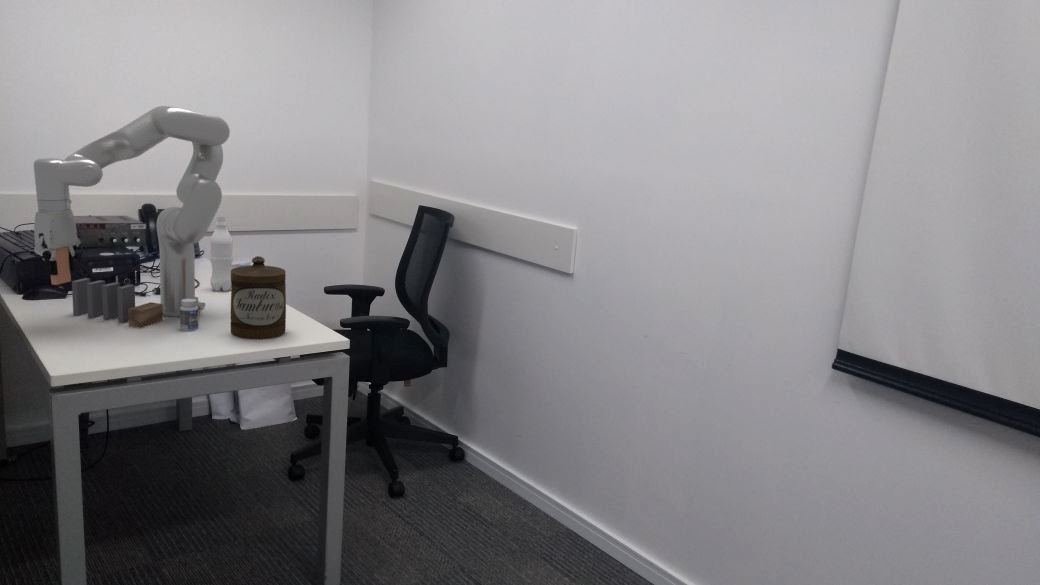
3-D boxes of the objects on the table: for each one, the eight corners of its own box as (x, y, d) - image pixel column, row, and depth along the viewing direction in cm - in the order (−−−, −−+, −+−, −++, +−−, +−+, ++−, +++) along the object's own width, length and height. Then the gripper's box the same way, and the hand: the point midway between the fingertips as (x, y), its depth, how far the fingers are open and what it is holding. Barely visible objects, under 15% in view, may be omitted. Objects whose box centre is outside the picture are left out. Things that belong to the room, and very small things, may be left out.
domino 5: (135, 318, 224) (134, 285, 222) (123, 323, 219) (122, 288, 217) (130, 318, 224) (129, 284, 222) (118, 322, 219) (117, 287, 217)
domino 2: (91, 312, 227) (89, 278, 225) (78, 315, 222) (76, 281, 220) (86, 311, 227) (85, 278, 225) (73, 315, 222) (71, 281, 220)
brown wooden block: (162, 320, 224) (162, 304, 223) (141, 328, 215) (140, 310, 214) (150, 318, 225) (150, 302, 224) (128, 326, 216) (128, 308, 215)
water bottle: (224, 286, 270) (224, 215, 265) (237, 290, 266) (237, 218, 261) (206, 289, 265) (205, 216, 259) (218, 293, 261) (218, 219, 255)
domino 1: (71, 281, 213) (67, 245, 210) (56, 285, 208) (53, 248, 206) (66, 280, 213) (62, 244, 211) (51, 284, 208) (48, 247, 206)
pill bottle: (191, 332, 216) (191, 302, 214) (176, 329, 217) (176, 300, 215) (201, 328, 220) (201, 299, 218) (186, 325, 221) (186, 297, 219)
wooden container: (232, 341, 211) (231, 261, 206) (229, 326, 224) (229, 251, 219) (288, 339, 217) (289, 261, 212) (282, 324, 230) (283, 252, 225)
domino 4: (120, 316, 225) (119, 283, 223) (108, 320, 220) (106, 286, 218) (116, 315, 225) (114, 282, 223) (103, 319, 220) (101, 285, 218)
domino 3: (106, 314, 226) (104, 281, 224) (93, 318, 221) (91, 284, 219) (101, 313, 226) (100, 280, 224) (88, 317, 221) (86, 283, 219)
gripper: (67, 201, 214) (73, 265, 219) (15, 208, 198) (22, 277, 203) (90, 203, 213) (95, 267, 217) (39, 211, 197) (46, 280, 201)
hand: (60, 271), depth 210 cm, fingers closed on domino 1, 4 cm apart
